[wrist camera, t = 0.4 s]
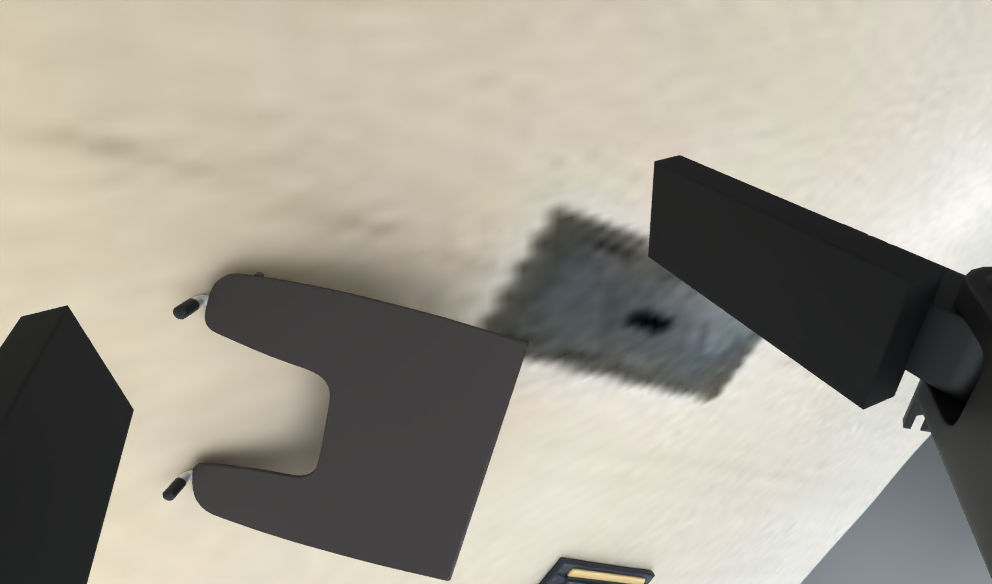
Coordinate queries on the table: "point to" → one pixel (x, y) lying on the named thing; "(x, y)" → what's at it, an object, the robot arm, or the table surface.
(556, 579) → the wallet
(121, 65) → the table surface
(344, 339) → the dark gray curved stand
